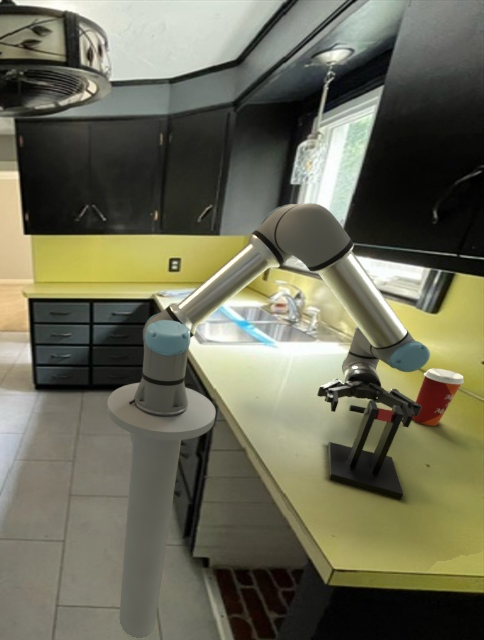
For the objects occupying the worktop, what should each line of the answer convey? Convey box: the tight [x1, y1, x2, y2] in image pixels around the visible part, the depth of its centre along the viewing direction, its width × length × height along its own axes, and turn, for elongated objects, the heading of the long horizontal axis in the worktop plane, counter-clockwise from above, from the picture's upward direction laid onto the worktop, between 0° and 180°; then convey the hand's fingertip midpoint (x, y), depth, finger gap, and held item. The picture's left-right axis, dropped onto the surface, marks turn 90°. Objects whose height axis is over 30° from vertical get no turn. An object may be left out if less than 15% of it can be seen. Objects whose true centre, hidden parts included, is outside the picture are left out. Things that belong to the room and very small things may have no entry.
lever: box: [348, 404, 393, 423], centre depth 77 cm, size 12×8×2 cm, turn 150°
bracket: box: [327, 399, 405, 501], centre depth 76 cm, size 14×12×16 cm
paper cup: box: [412, 368, 465, 427], centre depth 96 cm, size 8×8×14 cm
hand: (370, 414), depth 82 cm, fingers open, 13 cm apart
